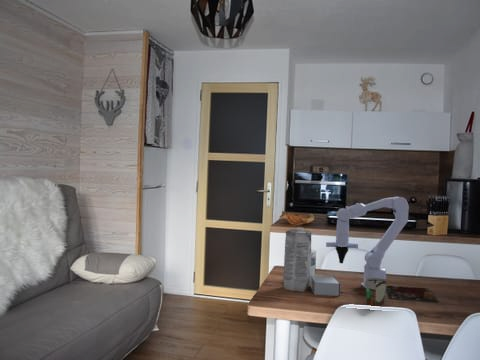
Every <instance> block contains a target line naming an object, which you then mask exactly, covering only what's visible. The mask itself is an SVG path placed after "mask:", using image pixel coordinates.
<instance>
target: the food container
mask: <svg viewBox="0 0 480 360" xmlns="http://www.w3.org/2000/svg"><path fill="white" fill-rule="evenodd" d="M387 284H388V283H387V278H386V279H381V278H369V279H367V280H366V281H365V286H366V288H365V290H366V292H365V293H366V306H367V305H371V306H382V307H383V306H385V304H386V302H385V301H386V292H387V291H386V290H387Z"/></svg>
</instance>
